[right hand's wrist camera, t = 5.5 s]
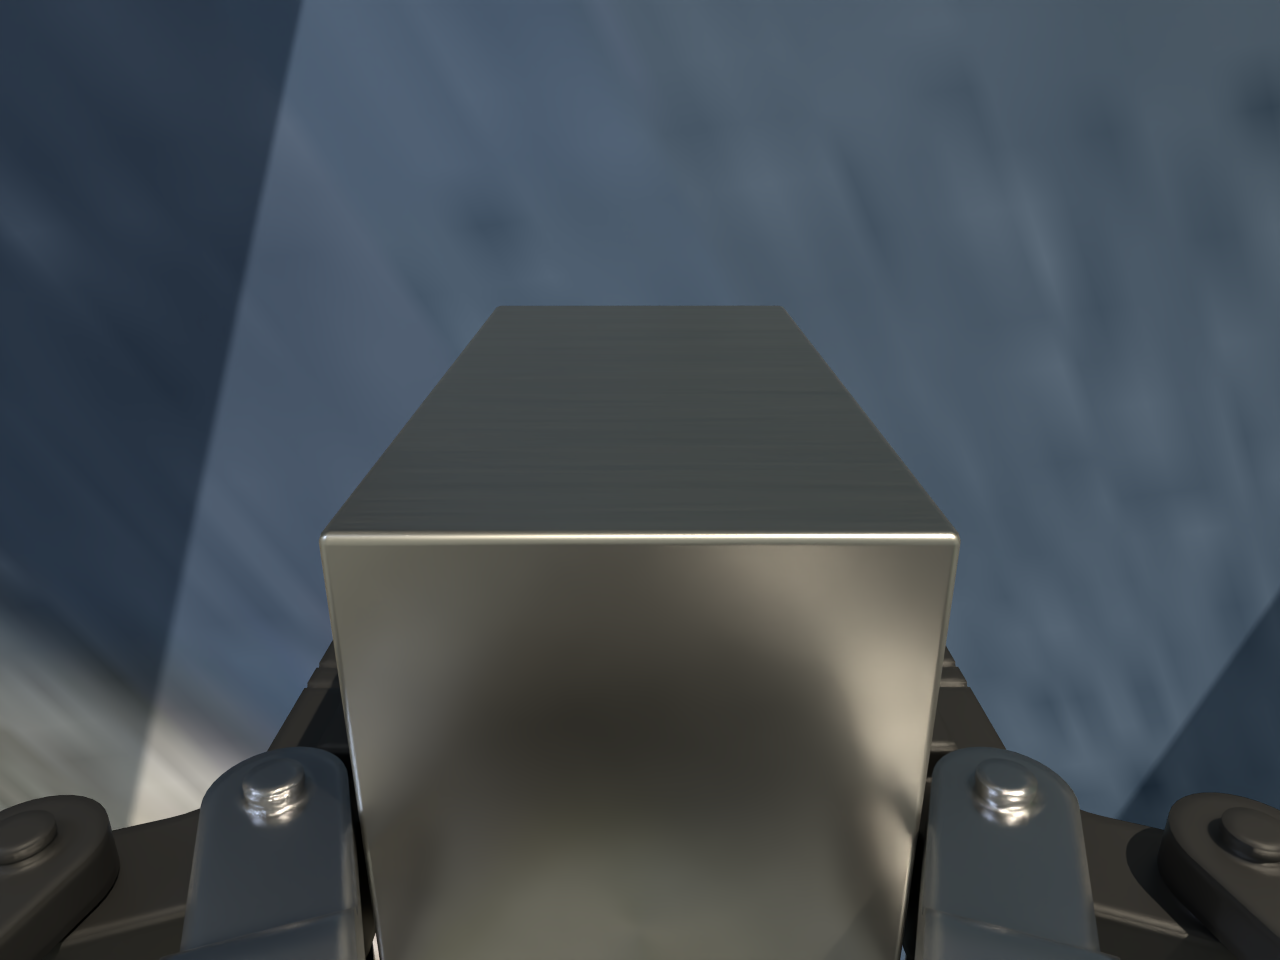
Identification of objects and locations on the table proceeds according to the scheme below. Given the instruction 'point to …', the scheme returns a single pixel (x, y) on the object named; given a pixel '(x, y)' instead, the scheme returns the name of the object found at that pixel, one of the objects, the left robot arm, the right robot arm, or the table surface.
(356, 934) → the right robot arm
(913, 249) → the table surface
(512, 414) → the brick
